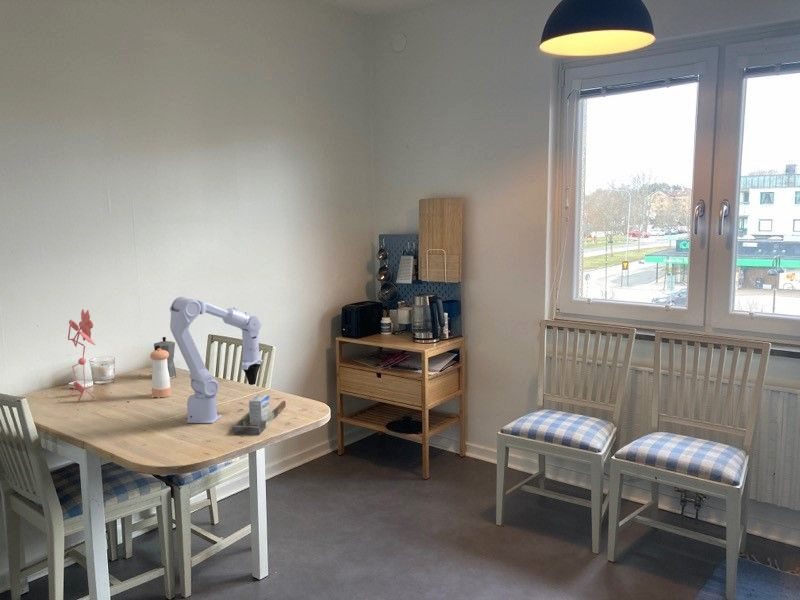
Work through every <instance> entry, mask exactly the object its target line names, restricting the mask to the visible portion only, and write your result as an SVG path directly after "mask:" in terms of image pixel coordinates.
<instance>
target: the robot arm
mask: <svg viewBox="0 0 800 600" xmlns="http://www.w3.org/2000/svg"><path fill="white" fill-rule="evenodd" d="M169 311H170V324H169V328H170V332H171V333H172V336H173V339H174V341H175V343H176V344H177V346H178V349H179V350H180V353H181V355H182V357H183V359H184V362H185V364H186V365H187V368H188V370H189V372H190V374H189V378H190V387H191V389H192V390H193V392H194V394H191V395H189V396H188V398H187V403H186V407H187V408H186V409H187V412H186V413H187V421H186V423H190V424H195V423H196V424H214V423H215V422H216V421H218V420H219V419H220V418H221V417H222V415H221V414H218V407H217V394H218V392H219V389H220V384H219V381H218V380H217V379H215V378H214V377H213V375H212V373H211V372H210V371H209V370H208V369H207V367H206V365H205V363H204V361H203V357H202V356H201V354H200V352H199V350H198V347H197V345H196V344H195V341H194V339H193V336H192V335H191V333H190V329H189V328H190V326H191V324H192V323H193V322H194V320H195V319H196V318H197V317H198V316H199V315H201V316H202V315H204V314H207V315H211V316H214V317H215V316H216V317H217V318H221V319H222V322H224V324H226V325H228V326H229V325H230V326H232V327H234V328H238V329H240V330H241V335H242V336H241V338H242V364H241V370H243V372H244V374H245V377H246V380H247V383H248V385H249V386H254V385H256V382H257V378H258V373H259V370H260V368H261V363H262V362H263V359H262V358H261V355H260V346H259V345H260V342H259V335H260V334H259V332H260V329H261V327H262V322H261V321H260V319H259V318H258V317H257V316H254V315H249V314H250V313H249V312H246V311H245V312H243V311H240V310H239V309H238V308H237V307H232V308H231V307H229V308H227V309H225V308H222V307H220V306H217V305H214V304H212V303H209V302H207V301H204V300H198V299H193V298H187V297H184V296H178V297H176V298H175V299H174V300H173V302H172V303H171V305H170V308H169Z"/></svg>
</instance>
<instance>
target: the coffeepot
mask: <svg viewBox="0 0 800 600" xmlns="http://www.w3.org/2000/svg"><path fill="white" fill-rule="evenodd" d="M161 339H162V341H158V342H155V343H154V344H153V348H154V350H153V351H155V350H157V349H158V348H160V349H161V350H165V351H167V352H168V353H169V357H168V358H167V365H168V372H169V376H170V377H173V376H176V374H177V371H176V366H175V362H174V358H175V347H176V341H172V340H171V341H170V340H166V339H167V337H166V336H163V337H161ZM176 377H177V376H176Z"/></svg>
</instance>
